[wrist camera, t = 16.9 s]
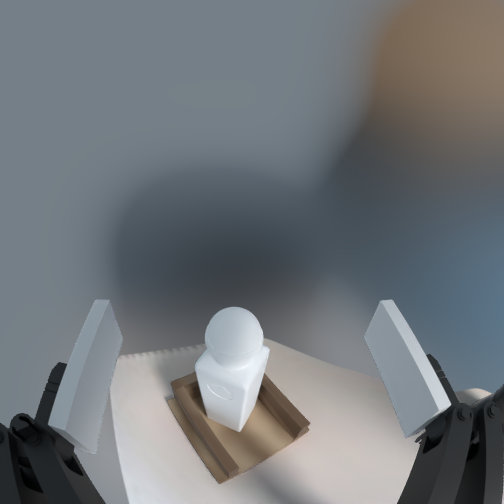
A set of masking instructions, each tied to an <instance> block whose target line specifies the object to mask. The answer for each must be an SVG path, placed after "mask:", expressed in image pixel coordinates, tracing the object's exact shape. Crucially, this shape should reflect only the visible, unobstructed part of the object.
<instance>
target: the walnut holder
mask: <svg viewBox="0 0 504 504" xmlns="http://www.w3.org/2000/svg"><path fill="white" fill-rule="evenodd" d="M170 383H171V386H172V389H173V393H174V396H175V398H173V399H170V400H168V401H167V402H168V405H169V406H170V408H171V410H172V412H173V414H174V415H175V417H176V419H177V421H178V422H179V424H180V426H181V427H182V429H183V431H184V432H185V434H186V436H187V437H188V439H189V440H190V442H191V444H192V445H193V447H194V448H195V450H196V451H197V453H198V454H199V456H200V457H201V459H202V460H203V462H204V463H205V465H206V466H207V468H208V469H209V470H210V472H211V473H212V475H213V476H214V477H215V479H216V480H217V481H218V483H219V484H221V483H223V482H225V481H227V480H229V479H231V478H233V477H235V476H237V475H239V474H241V473H243V472H245V471H246V470H248V469H250V468H252V467H254V466H255V465H257V464H259V463H261V462H262V461H264V460H266V459H267V458H269V457H271V456H272V455H274V454H275V453H277V452H279V451H280V450H282V449H283V448H285V447H286V446H288V445H289V444H291V443H292V442H294V441H295V440H297V439H298V438H300V437H301V436H303V435H304V434H305V433H307V432H308V431H309V428H308V426H309V424H310V422H309V421H308V420H307V419H306V418H305V417H304V416H303V415H302V414H301V413H300V412H299V411H298V410H297V409H296V408H295V406H294V405H293V404H292V403H291V402H290V401H289V400H288V399H287V398H286V397H285V396H284V395H283V394H282V392H281V391H280V390H279V389H278V388H277V387H276V386H275V385H274V384H273V382H272V381H271V380H270V379H269V378H268V377H267V376H266V375H265V373H264V375H263V378H262V382H261V386H260V389H259V393H258V396H257V400H256V403H255V406H254V408H253V410H252V412H251V414H250V416H249V417H248V419H247V421H246V423H245V425H244V426H243V428H242V430H241V431H240V432H237V431H235V430H233V429H231V428H228V427H226V426H224V425H222V424H220V423H217V422H215V421H213V420H211V419H209V418H208V417H207V414H206V411H205V407H204V403H203V399H202V395H201V391H200V387H199V383H198V379H197V375H196V372H194V373H192V374H190V375H187V376H185V377H182V378H180V379H177V380H175V381H172V382H170Z"/></svg>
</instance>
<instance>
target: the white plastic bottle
mask: <svg viewBox="0 0 504 504" xmlns="http://www.w3.org/2000/svg"><path fill="white" fill-rule="evenodd" d="M205 343H206V346H207V349H206V351H205V352H204V353H203V354H202V355H201V357H200V358H199V359H198V360H197V362H196V363H195V371H196V375H197V379H198V383H199V387H200V391H201V395H202V399H203V403H204V407H205V411H206V414H207V417H208V418H209V419H211V420H213V421H215V422H217V423H220V424H222V425H224V426H226V427H228V428H231V429H233V430H235V431H237V432H240V431H241V430H242V428H243V426H244V425H245V423H246V421H247V419H248V417H249V416H250V414H251V412H252V410H253V408H254V406H255V403H256V400H257V396H258V393H259V389H260V386H261V382H262V378H263V375H264V371H265V367H266V364H267V360H268V356H269V352H270V350H269V348H268V347H267V346H265V345H263V331H262V329H261V327H260V324H259V322H258V320H257V318H256V317H255V316H254V315H253V314H252V313H251V312H249V311H248V310H246V309H243V308H240V307H229V308H225V309H223V310H221V311H219V312H218V313H217V314H215V315H214V316H213V318H212V319H211V321H210V323H209V325H208V326H207V329H206V333H205Z"/></svg>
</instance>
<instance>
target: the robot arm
mask: <svg viewBox="0 0 504 504" xmlns="http://www.w3.org/2000/svg"><path fill="white" fill-rule="evenodd" d="M364 339H365V341H366V343H367V346H368V348H369V350H370V352H371V354H372V357H373V359H374V361H375V364H376V366H377V368H378V370H379V373H380V375H381V377H382V380H383V382H384V385H385V387H386V389H387V392H388V394H389V397H390V399H391V402H392V404H393V407H394V409H395V412H396V414H397V417H398V419H399V422H400V425H401V427H402V430H403V433H404V435H405V438H407V437H410V436H412V435H415V434H417V433H419V432H420V431H421V430H423V429H424V428H425V429H426V432H424V433H423V434H422V435H420V436H419V437H418V438H417V439H416V441H415V442H416V443H417V442H418V441H420V440H421V439H422V441H421V442H420V443H419V444H420V447H419V450H418V453H417V456H416V459H415V462H414V465H413V467H412V470H411V473H410V475H409V478H408V480H407V483H406V485H405V487H404V490H403V492H402V494H401V496H400V498H399V501H398V503H397V504H502V494H503V476H504V384H503V385H502V386H501V387H500V388H499V389H498V390H497V391H496V392H495V393H493V394H491V395H489V396H487V397H485V398H483V399H481V400H478V401H476V402H475V403H473V404H472V405H471V406H470V407H469V406H468V405H467V404H464V403H460V402H459V401H458V399H457V397H456V395H455V393H454V391H453V390H452V388H451V386H450V384H449V382H448V380H447V378H445V374H444V373H443V371H442V369H441V367H440V365H439V364H438V362H437V360H436V359H435V358H434V357H432V356H431V355H430V354H428V355H425V353H424V351H423V350H422V348H421V346H420V344H419V342H418V341H417V339H416V337H415V336H414V334H413V332H412V331H411V329H410V327H409V326H408V324H407V322H406V321H405V319H404V318H403V316H402V314H401V313H400V311H399V310H398V308H397V306H396V305H395V303H394V302H393V300H382V301H380V303H379V305H378V307H377V310H376V312H375V314H374V316H373V318H372V320H371V323H370V325H369V327H368V329H367V331H366V333H365V335H364ZM122 341H123V338H122V335H121V332H120V329H119V326H118V324H117V321H116V318H115V315H114V312H113V309H112V306H111V303H110V300H101V299H96V300H95V302H94V304H93V306H92V308H91V310H90V312H89V314H88V317H87V319H86V321H85V323H84V325H83V328H82V330H81V332H80V335H79V337H78V340H77V342H76V344H75V347H74V349H73V351H72V354H71V357H70V359H69V362H68V364H65V363H61V362H59V363H58V364H57V365H56V366H55V367H54V368H53V369H52V371H51V373H50V376H49V379H48V383H47V384H46V387H45V391H44V393H43V395H42V398H41V401H40V405H39V408H38V411H37V414H36V417H35V419H34V420H33V418H31V417H30V416H29V415H28V414H24V413H20V414H17V415H16V416H14V417H13V419H12V420H11V423H10V428H6V427H5V426H4V425H2V424H1V423H0V504H106V503H105V502H104V500H103V499H102V497H101V496H100V494H99V493H98V491H97V490H96V488H95V487H94V485H93V484H92V482H91V480H90V479H89V477H88V475H87V474H86V472H85V470H84V469H83V467H82V465H81V464H80V461H79V460H78V458H77V456H76V454H75V453H74V446H75V447H76V448H78V449H79V450H81V451H84V452H87V453H91V454H94V455H96V452H97V445H98V441H99V435H100V430H101V425H102V420H103V415H104V410H105V406H106V401H107V397H108V393H109V389H110V385H111V381H112V377H113V373H114V369H115V366H116V362H117V358H118V355H119V351H120V348H121V345H122Z"/></svg>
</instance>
